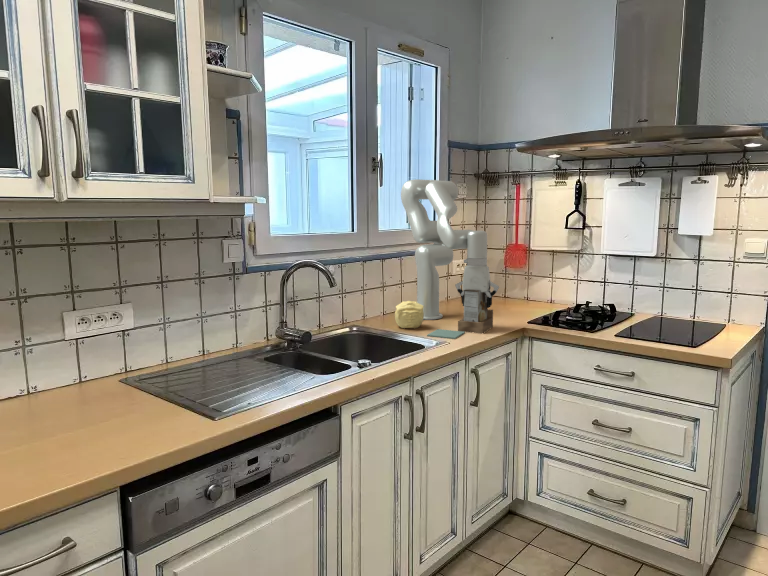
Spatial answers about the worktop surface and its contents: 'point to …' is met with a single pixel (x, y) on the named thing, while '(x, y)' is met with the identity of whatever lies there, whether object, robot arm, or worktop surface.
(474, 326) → the packet holder
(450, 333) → the mat
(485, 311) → the coffee box
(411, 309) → the sculpture
